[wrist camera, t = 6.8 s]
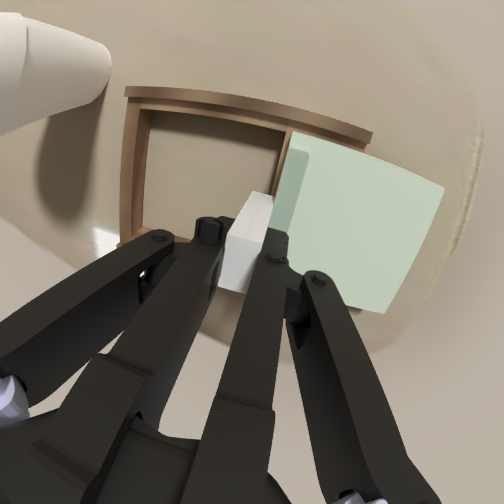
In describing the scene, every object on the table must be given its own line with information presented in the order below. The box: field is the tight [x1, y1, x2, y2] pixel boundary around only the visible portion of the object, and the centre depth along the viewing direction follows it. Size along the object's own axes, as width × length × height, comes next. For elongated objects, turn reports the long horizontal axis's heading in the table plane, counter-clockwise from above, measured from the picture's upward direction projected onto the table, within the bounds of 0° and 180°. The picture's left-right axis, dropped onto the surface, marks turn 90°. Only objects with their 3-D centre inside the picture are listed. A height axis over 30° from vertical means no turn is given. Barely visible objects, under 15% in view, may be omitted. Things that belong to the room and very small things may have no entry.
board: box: [117, 86, 373, 284], centre depth 19 cm, size 17×14×3 cm
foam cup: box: [0, 12, 112, 136], centre depth 11 cm, size 10×9×13 cm
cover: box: [268, 131, 445, 314], centre depth 17 cm, size 11×11×3 cm
